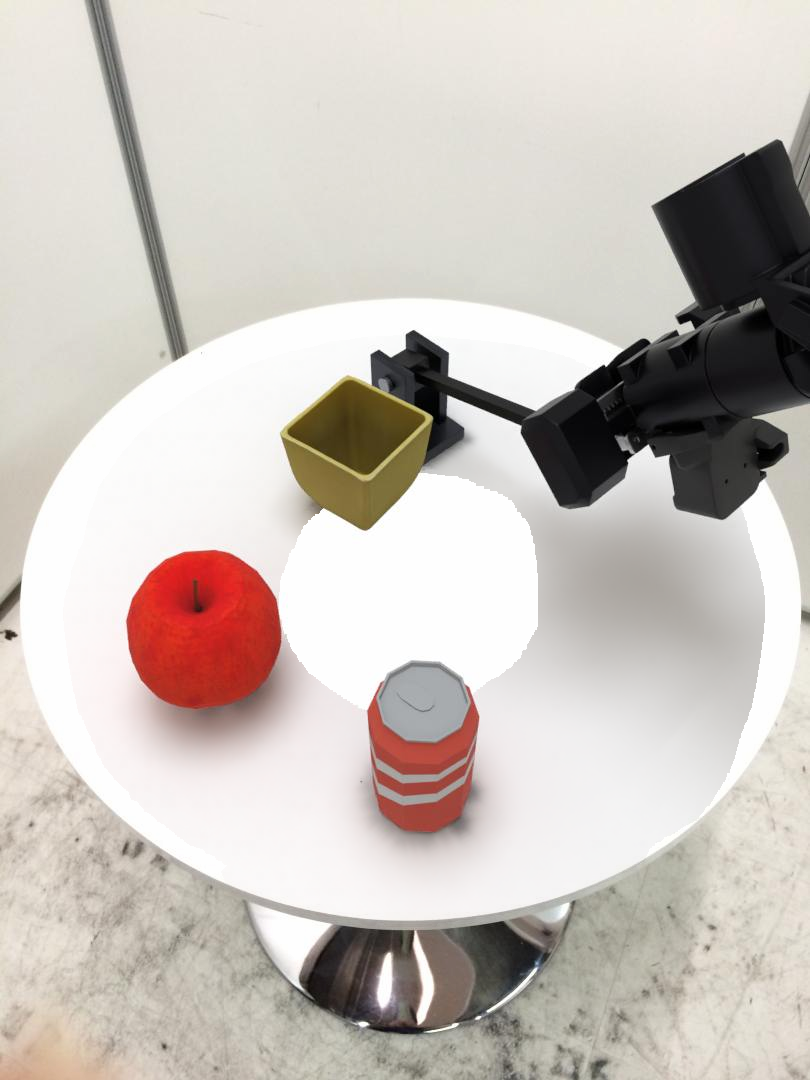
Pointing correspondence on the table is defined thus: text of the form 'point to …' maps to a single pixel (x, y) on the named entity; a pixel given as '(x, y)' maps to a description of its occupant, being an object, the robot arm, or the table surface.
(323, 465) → the flower pot
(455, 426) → the bracket
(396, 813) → the beverage can
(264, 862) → the table surface
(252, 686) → the apple
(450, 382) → the lever
